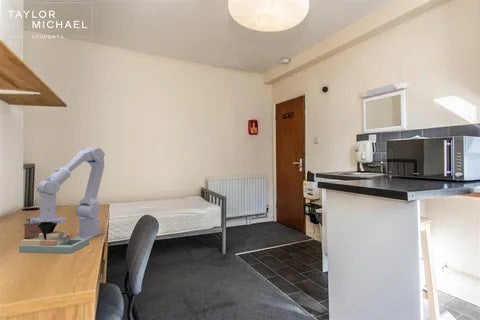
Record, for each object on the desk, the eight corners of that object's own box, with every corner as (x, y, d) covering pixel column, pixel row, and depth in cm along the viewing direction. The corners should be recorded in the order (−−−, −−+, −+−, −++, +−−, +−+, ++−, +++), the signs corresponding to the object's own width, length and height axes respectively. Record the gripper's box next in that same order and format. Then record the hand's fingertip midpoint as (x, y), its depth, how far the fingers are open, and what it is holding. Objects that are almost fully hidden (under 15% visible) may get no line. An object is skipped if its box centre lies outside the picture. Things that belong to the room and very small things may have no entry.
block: (55, 240, 117) (55, 231, 117) (66, 240, 117) (66, 231, 117) (46, 243, 112) (46, 234, 112) (57, 244, 112) (57, 234, 112)
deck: (42, 242, 121) (42, 232, 121) (89, 243, 120) (89, 234, 120) (19, 251, 109) (19, 241, 109) (70, 253, 108) (70, 242, 108)
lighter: (43, 235, 133) (43, 215, 133) (45, 236, 131) (45, 216, 131) (23, 238, 127) (23, 217, 127) (25, 240, 125) (25, 218, 125)
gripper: (23, 209, 111) (23, 242, 111) (57, 210, 110) (57, 243, 110) (37, 206, 118) (37, 237, 118) (69, 207, 117) (69, 237, 117)
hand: (47, 239), depth 115 cm, fingers closed
